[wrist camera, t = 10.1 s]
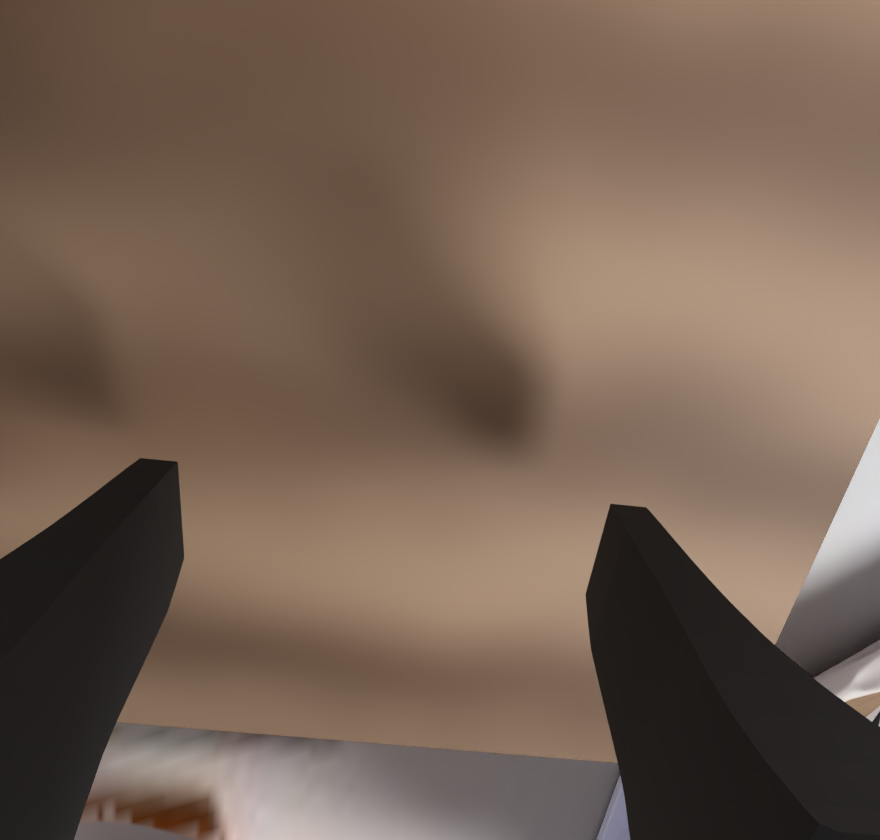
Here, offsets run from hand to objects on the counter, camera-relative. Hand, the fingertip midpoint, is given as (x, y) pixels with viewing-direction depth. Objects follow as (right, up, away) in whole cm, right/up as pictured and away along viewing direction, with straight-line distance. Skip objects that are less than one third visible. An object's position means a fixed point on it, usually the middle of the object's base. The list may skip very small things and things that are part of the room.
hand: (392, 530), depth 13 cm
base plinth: (0, +3, +5) cm, 6 cm away
